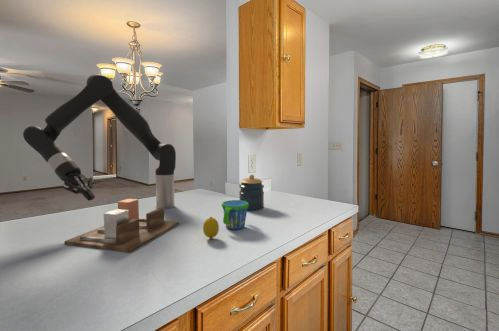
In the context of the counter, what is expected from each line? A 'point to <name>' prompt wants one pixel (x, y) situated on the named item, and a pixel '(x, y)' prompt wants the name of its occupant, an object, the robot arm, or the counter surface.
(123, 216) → the steel slider
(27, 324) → the counter surface
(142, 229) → the board
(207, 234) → the lemon
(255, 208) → the canister
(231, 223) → the snack cup
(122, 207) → the terracotta slider
